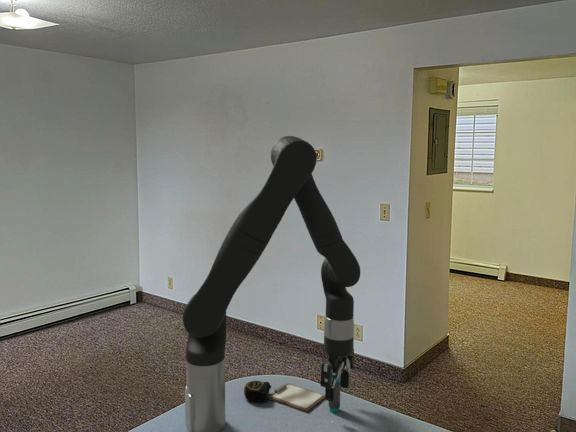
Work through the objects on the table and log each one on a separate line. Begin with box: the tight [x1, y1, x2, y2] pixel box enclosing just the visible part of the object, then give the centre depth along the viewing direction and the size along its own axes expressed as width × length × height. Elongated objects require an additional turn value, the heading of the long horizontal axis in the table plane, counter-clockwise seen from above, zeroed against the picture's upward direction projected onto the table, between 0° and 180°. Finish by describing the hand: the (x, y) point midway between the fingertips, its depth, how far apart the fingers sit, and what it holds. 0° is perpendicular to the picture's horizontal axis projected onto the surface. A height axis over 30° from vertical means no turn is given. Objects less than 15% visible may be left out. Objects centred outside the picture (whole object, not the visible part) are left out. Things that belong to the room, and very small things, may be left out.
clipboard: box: [267, 383, 326, 414], centre depth 135 cm, size 12×10×2 cm
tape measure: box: [243, 380, 272, 403], centre depth 135 cm, size 7×7×4 cm
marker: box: [328, 373, 341, 414], centre depth 128 cm, size 3×3×9 cm
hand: (337, 393), depth 128 cm, fingers open, 8 cm apart
